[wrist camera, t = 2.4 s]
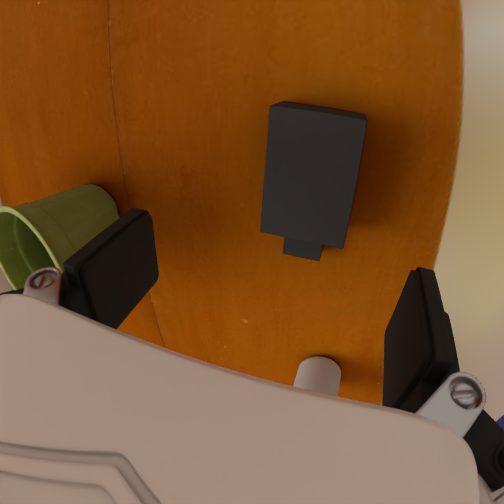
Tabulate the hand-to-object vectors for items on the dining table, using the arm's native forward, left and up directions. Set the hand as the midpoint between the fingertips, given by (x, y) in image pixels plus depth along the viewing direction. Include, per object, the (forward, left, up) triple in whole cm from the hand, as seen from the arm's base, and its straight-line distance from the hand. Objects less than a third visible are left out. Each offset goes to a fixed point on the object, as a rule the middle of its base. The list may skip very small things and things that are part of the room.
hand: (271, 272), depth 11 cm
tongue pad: (0, +2, -14) cm, 15 cm away
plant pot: (+22, +8, -15) cm, 28 cm away
